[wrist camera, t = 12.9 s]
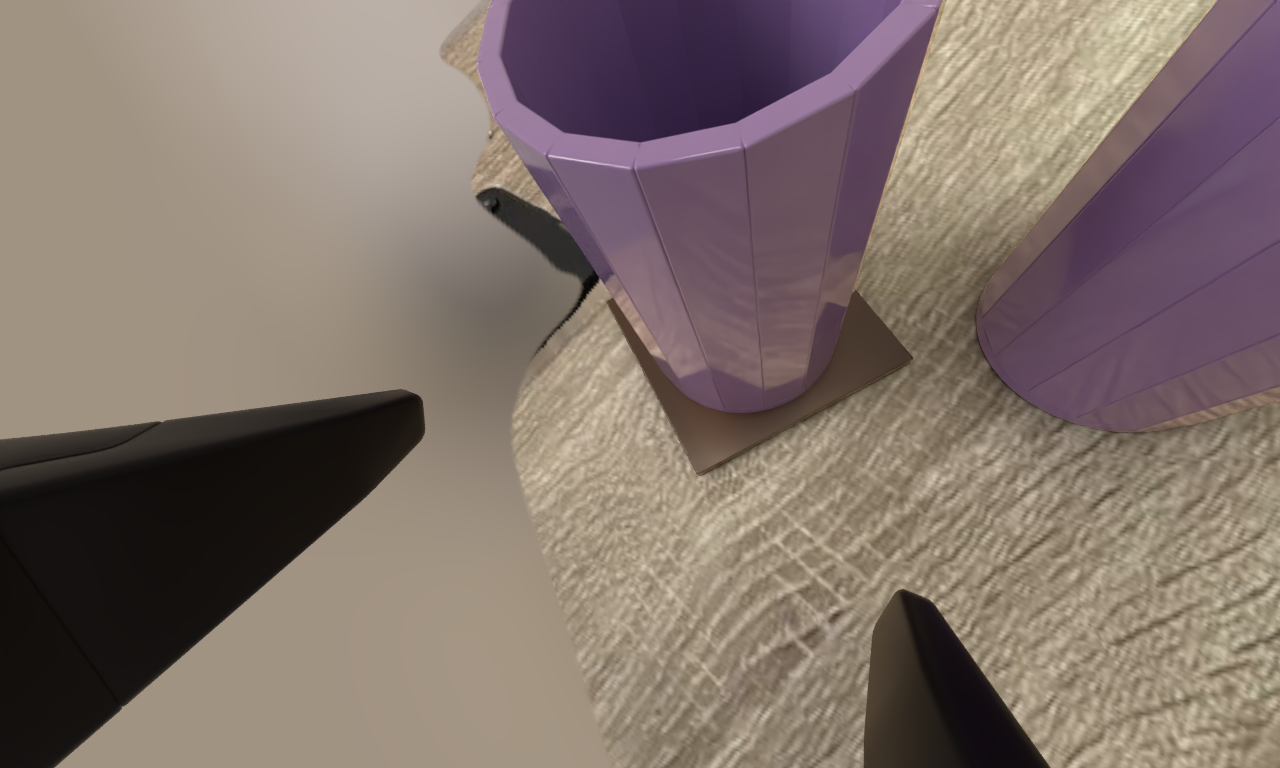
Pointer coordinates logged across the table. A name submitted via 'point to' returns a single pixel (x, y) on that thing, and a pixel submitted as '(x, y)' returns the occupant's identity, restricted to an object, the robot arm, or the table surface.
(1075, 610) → the table surface
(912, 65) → the tumbler
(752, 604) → the table surface
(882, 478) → the table surface
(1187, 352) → the tumbler
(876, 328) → the coaster
